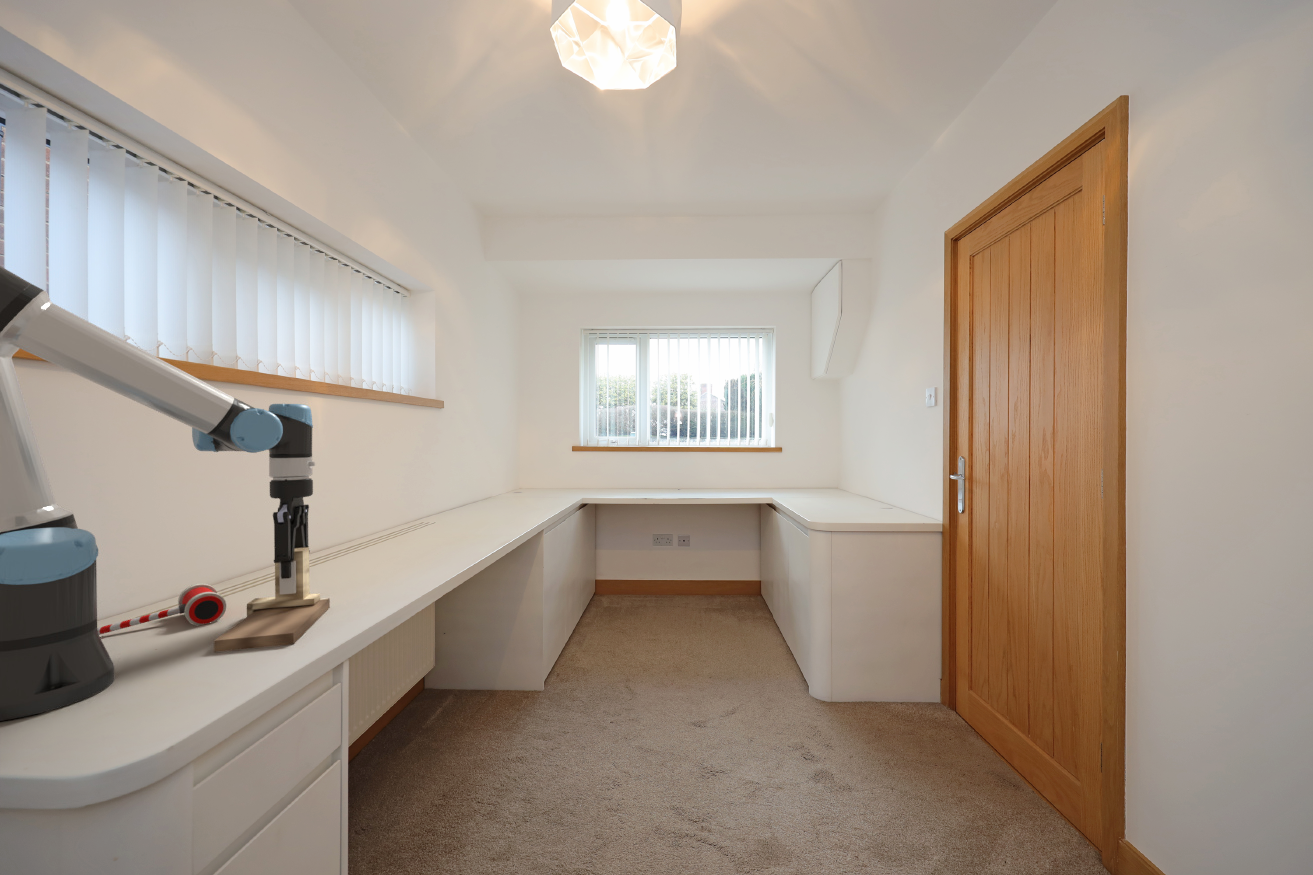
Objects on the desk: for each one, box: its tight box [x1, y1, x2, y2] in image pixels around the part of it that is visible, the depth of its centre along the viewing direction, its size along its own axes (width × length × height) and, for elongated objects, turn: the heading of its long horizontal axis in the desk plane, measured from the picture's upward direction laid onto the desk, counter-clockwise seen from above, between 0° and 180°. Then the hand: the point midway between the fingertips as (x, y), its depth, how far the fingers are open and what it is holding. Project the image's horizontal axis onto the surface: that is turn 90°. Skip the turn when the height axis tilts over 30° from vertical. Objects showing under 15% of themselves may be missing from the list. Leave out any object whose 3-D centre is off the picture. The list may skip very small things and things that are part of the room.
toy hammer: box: [97, 583, 227, 636], centre depth 107 cm, size 23×12×6 cm, turn 137°
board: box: [213, 598, 331, 653], centre depth 107 cm, size 12×22×2 cm, turn 16°
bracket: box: [246, 547, 321, 617], centre depth 114 cm, size 12×4×13 cm, turn 106°
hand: (292, 589), depth 115 cm, fingers open, 5 cm apart
